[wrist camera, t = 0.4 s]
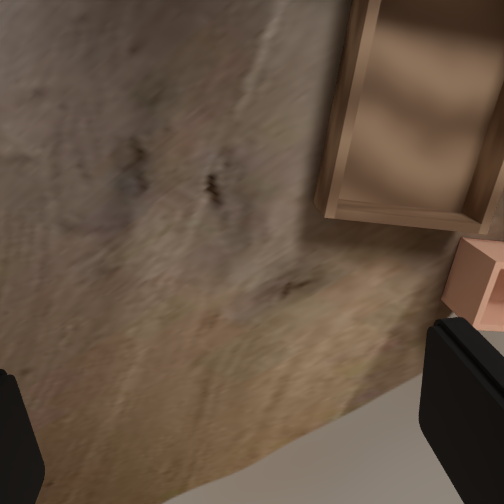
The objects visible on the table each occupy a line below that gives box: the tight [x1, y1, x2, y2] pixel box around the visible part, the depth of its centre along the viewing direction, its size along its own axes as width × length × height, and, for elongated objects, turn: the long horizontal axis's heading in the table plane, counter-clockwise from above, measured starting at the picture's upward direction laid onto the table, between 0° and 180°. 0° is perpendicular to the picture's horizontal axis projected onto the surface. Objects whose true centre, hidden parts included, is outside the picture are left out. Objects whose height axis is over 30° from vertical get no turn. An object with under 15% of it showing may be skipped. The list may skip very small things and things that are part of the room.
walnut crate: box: [313, 0, 504, 234], centre depth 35 cm, size 18×14×4 cm
